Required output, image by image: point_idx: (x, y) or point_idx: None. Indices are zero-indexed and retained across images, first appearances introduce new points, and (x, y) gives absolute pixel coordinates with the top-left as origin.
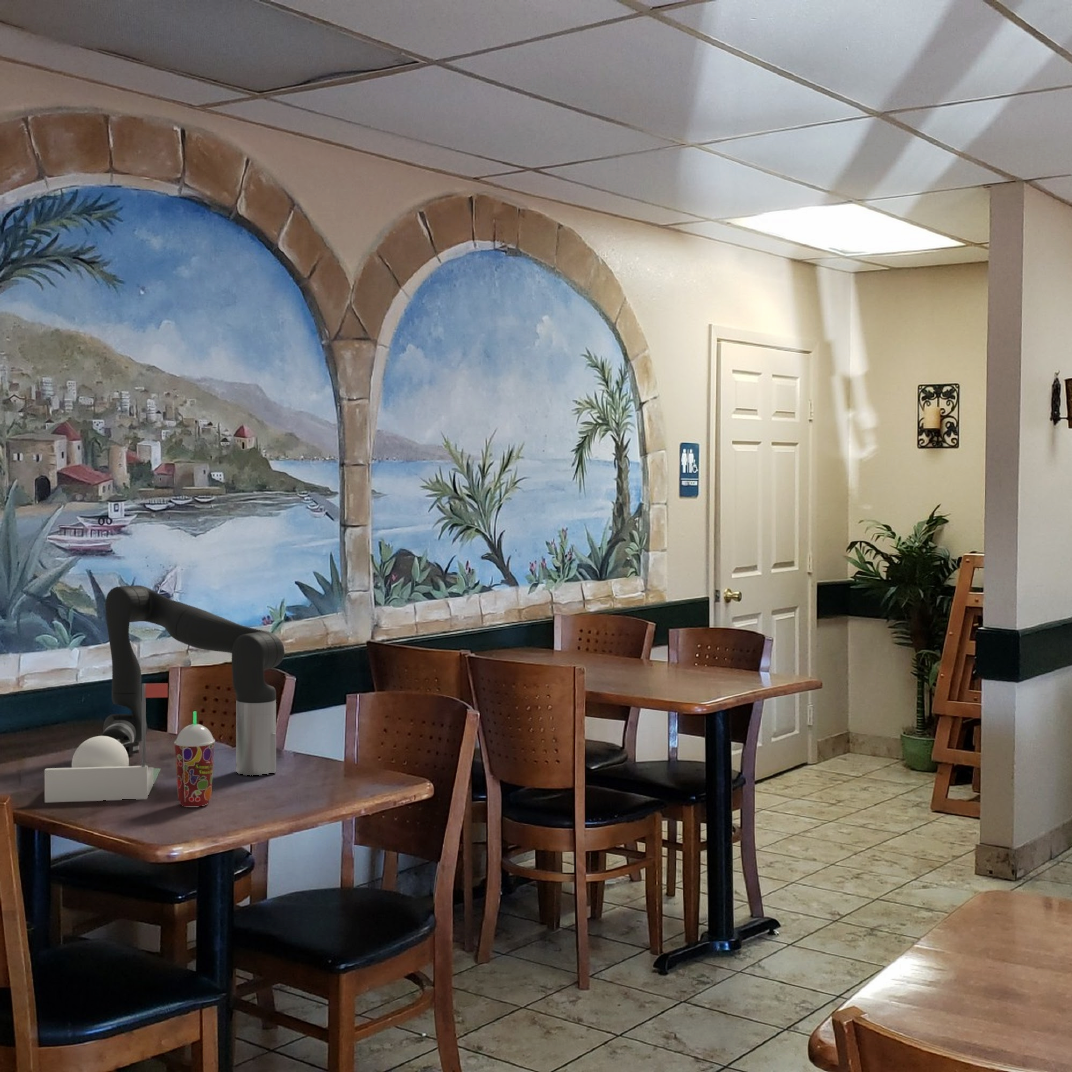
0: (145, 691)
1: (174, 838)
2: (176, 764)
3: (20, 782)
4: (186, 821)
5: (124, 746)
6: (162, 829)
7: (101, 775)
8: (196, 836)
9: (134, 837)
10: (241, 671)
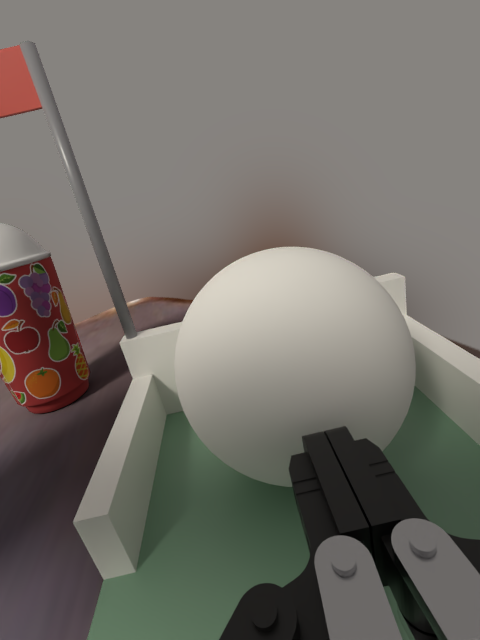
0: (34, 81)
1: (133, 310)
2: (65, 302)
3: None
4: (105, 341)
5: (228, 629)
6: (142, 321)
7: None
8: (109, 317)
9: (175, 304)
10: None
